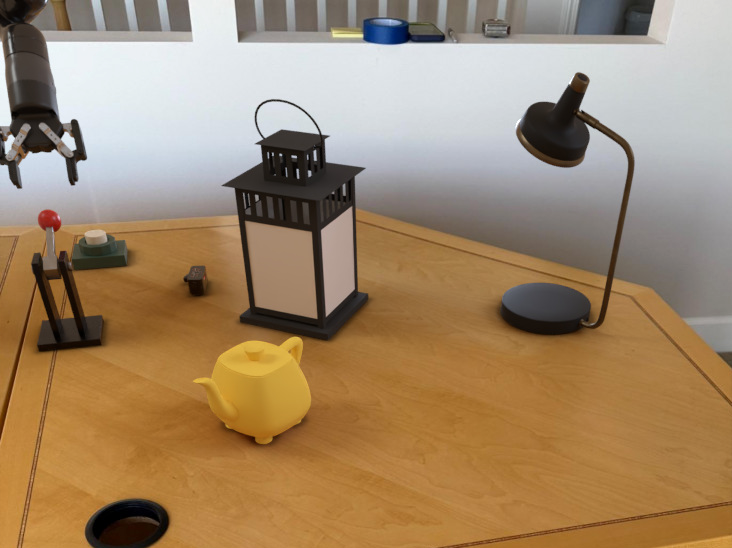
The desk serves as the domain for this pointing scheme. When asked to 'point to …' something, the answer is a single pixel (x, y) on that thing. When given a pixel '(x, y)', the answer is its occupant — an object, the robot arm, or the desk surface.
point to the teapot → (259, 388)
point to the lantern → (298, 236)
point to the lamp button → (95, 237)
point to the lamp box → (99, 254)
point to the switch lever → (50, 243)
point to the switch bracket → (68, 329)
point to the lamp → (562, 149)
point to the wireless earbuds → (196, 280)
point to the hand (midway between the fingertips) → (45, 184)
